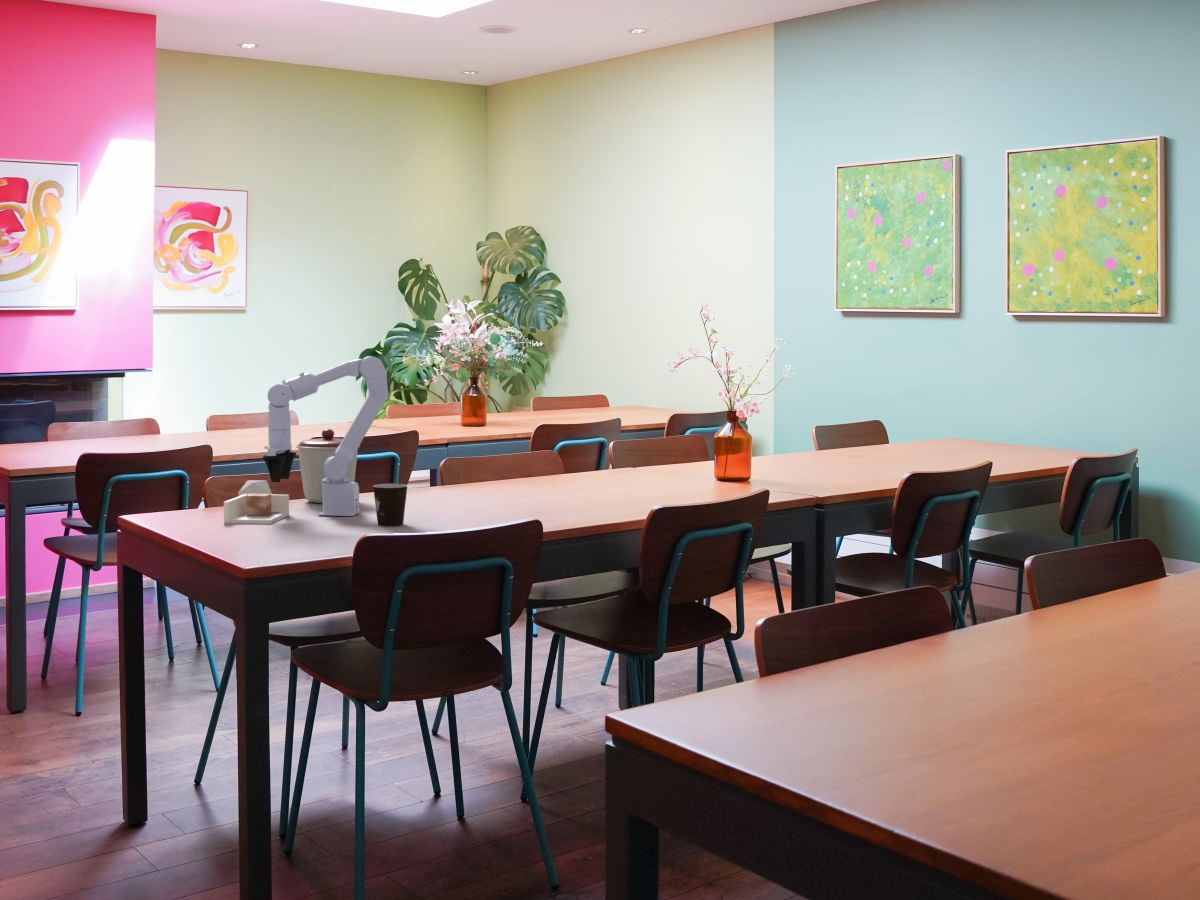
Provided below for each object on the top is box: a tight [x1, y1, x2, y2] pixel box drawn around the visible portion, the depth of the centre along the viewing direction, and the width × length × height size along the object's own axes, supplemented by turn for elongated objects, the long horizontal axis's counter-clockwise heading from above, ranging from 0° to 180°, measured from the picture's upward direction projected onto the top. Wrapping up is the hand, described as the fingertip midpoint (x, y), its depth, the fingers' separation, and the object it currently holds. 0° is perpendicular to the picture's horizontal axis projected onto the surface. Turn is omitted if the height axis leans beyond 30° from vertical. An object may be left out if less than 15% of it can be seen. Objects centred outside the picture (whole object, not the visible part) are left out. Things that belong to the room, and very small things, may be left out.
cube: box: [246, 493, 271, 515], centre depth 329 cm, size 5×5×5 cm
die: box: [237, 479, 273, 496], centre depth 345 cm, size 8×9×10 cm
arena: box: [223, 493, 290, 525], centre depth 328 cm, size 12×16×6 cm
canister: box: [295, 428, 361, 504], centre depth 362 cm, size 18×18×21 cm
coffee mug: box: [372, 483, 408, 527], centre depth 319 cm, size 12×9×10 cm
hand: (280, 480), depth 334 cm, fingers open, 7 cm apart
